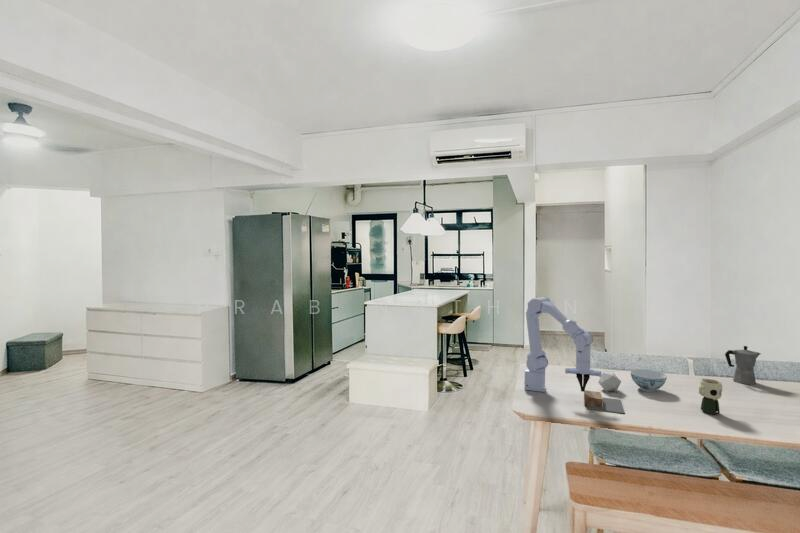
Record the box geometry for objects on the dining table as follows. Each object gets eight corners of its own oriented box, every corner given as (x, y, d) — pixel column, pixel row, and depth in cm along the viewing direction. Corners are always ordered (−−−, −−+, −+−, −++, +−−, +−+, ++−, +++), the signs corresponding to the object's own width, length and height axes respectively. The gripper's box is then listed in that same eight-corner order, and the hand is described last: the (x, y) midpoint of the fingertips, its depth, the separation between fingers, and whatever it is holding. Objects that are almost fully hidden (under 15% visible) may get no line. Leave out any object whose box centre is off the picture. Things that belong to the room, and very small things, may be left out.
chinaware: (646, 396, 193) (646, 379, 193) (622, 385, 208) (623, 370, 207) (674, 393, 196) (675, 377, 196) (649, 383, 211) (649, 368, 211)
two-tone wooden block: (584, 397, 182) (602, 399, 180) (584, 390, 191) (601, 392, 188) (584, 405, 183) (602, 407, 180) (584, 397, 191) (601, 399, 188)
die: (618, 396, 196) (627, 377, 198) (600, 385, 197) (609, 366, 200) (609, 396, 204) (617, 377, 206) (592, 386, 205) (600, 368, 208)
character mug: (706, 417, 170) (707, 384, 169) (691, 410, 177) (692, 379, 176) (729, 414, 172) (730, 383, 171) (713, 408, 179) (714, 377, 178)
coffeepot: (753, 379, 215) (754, 344, 214) (765, 385, 206) (767, 348, 205) (719, 378, 218) (720, 343, 217) (729, 384, 209) (730, 347, 208)
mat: (587, 409, 179) (587, 408, 179) (586, 396, 194) (586, 395, 194) (624, 413, 174) (624, 412, 174) (620, 400, 189) (620, 399, 189)
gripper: (565, 361, 185) (564, 391, 186) (602, 364, 180) (601, 395, 180) (565, 357, 192) (565, 386, 192) (601, 360, 186) (600, 390, 187)
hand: (582, 390), depth 187 cm, fingers closed
